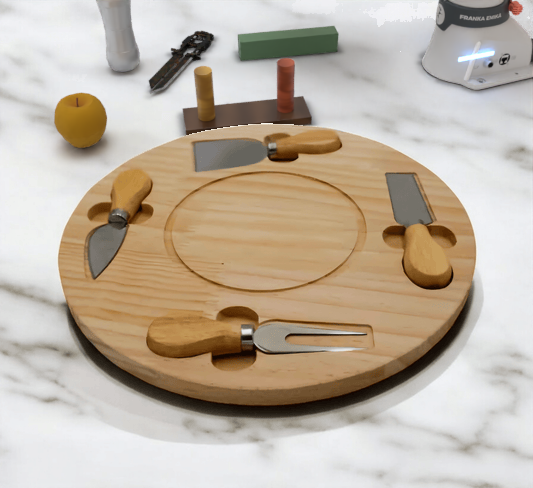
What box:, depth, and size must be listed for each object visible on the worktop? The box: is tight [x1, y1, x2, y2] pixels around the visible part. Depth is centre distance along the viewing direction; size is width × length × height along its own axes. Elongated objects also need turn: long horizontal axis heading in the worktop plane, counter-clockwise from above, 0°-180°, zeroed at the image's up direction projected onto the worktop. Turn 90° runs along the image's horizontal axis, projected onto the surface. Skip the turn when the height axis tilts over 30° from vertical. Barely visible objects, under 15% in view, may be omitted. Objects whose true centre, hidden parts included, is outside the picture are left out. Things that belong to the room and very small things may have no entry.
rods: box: [182, 57, 313, 136], centre depth 112 cm, size 22×7×10 cm, turn 100°
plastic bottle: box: [95, 0, 141, 73], centre depth 123 cm, size 6×7×20 cm
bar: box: [237, 25, 340, 62], centre depth 132 cm, size 20×4×4 cm, turn 100°
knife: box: [148, 30, 215, 95], centre depth 130 cm, size 25×6×1 cm, turn 154°
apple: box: [53, 92, 108, 149], centre depth 108 cm, size 8×8×9 cm
